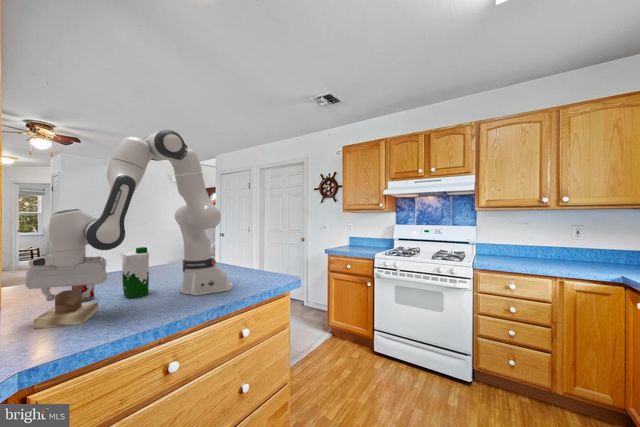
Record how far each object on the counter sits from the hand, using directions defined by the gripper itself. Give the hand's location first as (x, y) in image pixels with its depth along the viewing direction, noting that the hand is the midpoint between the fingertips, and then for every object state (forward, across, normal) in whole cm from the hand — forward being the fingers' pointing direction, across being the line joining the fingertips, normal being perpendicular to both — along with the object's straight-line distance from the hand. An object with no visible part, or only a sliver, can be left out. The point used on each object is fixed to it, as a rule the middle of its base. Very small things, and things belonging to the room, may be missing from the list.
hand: (68, 298), depth 90 cm
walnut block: (+4, 0, 0) cm, 4 cm away
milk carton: (+7, -14, -21) cm, 26 cm away
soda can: (+7, +4, -21) cm, 22 cm away
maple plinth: (+7, 0, 0) cm, 7 cm away
